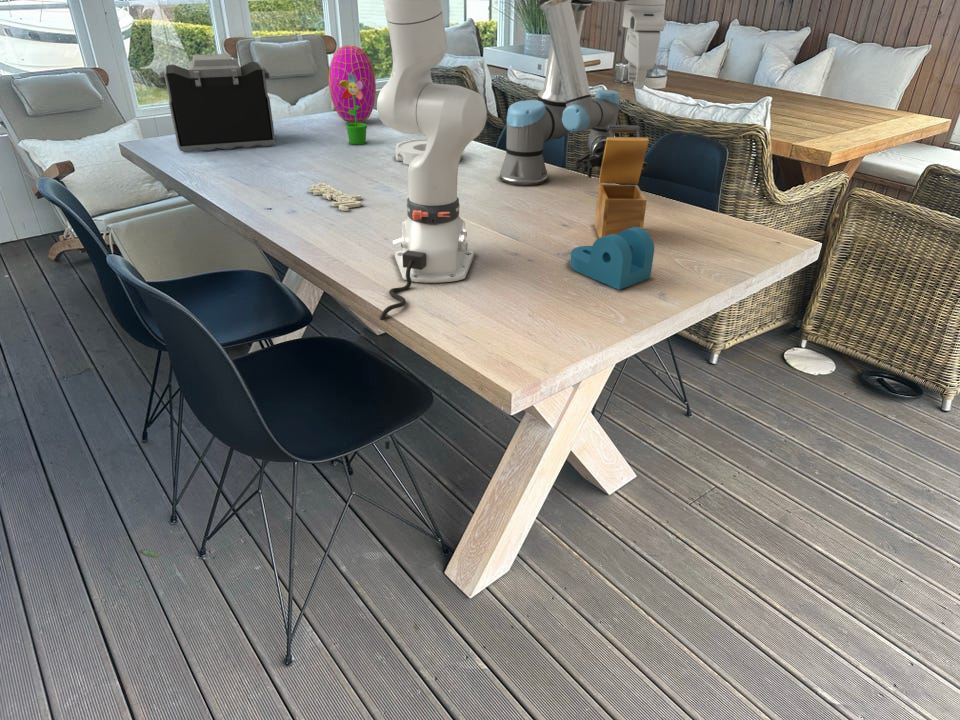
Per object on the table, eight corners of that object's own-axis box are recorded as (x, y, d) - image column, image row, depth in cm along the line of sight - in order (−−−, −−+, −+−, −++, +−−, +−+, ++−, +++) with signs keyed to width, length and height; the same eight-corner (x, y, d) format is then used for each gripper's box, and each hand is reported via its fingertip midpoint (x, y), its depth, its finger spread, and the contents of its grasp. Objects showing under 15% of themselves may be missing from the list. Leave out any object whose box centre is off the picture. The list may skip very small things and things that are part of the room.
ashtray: (454, 167, 232) (454, 155, 230) (388, 164, 235) (387, 152, 233) (466, 151, 252) (466, 140, 250) (404, 148, 255) (404, 137, 253)
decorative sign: (374, 202, 196) (343, 208, 191) (374, 205, 197) (343, 211, 191) (331, 180, 214) (301, 186, 209) (332, 183, 215) (302, 189, 209)
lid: (648, 140, 167) (645, 118, 171) (607, 140, 167) (604, 117, 171) (637, 184, 178) (634, 161, 183) (599, 183, 178) (596, 161, 183)
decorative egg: (362, 116, 305) (357, 42, 290) (386, 123, 292) (382, 46, 277) (324, 121, 294) (316, 45, 279) (347, 129, 281) (340, 49, 266)
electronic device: (273, 133, 274) (261, 51, 258) (280, 146, 256) (268, 58, 241) (174, 140, 262) (156, 54, 247) (174, 153, 244) (155, 62, 229)
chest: (640, 243, 173) (646, 200, 168) (600, 242, 174) (605, 199, 168) (632, 225, 185) (637, 184, 179) (594, 225, 185) (598, 184, 179)
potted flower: (342, 144, 260) (336, 73, 247) (351, 139, 266) (346, 70, 254) (365, 146, 257) (360, 74, 245) (374, 141, 264) (369, 71, 251)
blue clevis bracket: (650, 277, 154) (656, 233, 149) (619, 289, 148) (624, 243, 143) (591, 254, 166) (595, 212, 161) (560, 264, 160) (563, 221, 155)
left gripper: (621, 15, 161) (615, 78, 168) (636, 22, 144) (628, 92, 151) (648, 15, 161) (641, 78, 168) (666, 22, 143) (657, 92, 150)
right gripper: (644, 167, 207) (658, 189, 189) (562, 163, 207) (568, 185, 189) (649, 142, 203) (663, 162, 185) (564, 137, 203) (571, 157, 185)
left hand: (635, 85), depth 159 cm, fingers open, 8 cm apart
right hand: (615, 174), depth 187 cm, fingers open, 13 cm apart
